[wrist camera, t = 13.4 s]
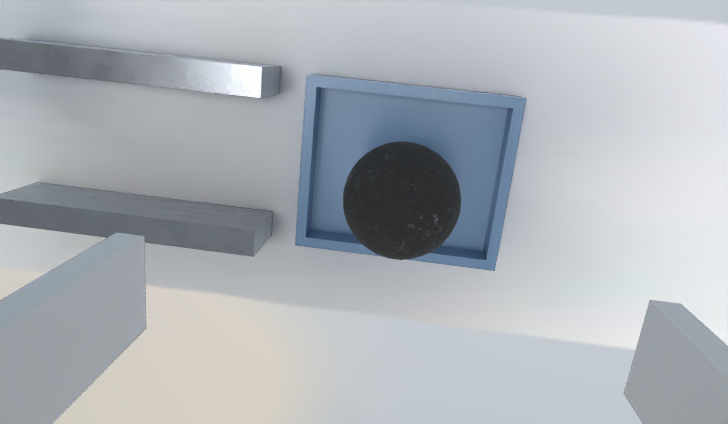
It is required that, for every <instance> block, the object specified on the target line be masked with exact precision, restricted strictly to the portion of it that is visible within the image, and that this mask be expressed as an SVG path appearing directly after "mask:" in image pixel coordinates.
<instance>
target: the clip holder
mask: <svg viewBox="0 0 728 424" xmlns="http://www.w3.org/2000/svg"><path fill="white" fill-rule="evenodd" d="M0 69H4V70H13V71H22V72H31V73H40V74H49V75H58V76H67V77H76V78H85V79H94V80H103V81H112V82H121V83H130V84H139V85H148V86H157V87H166V88H175V89H184V90H193V91H202V92H211V93H220V94H229V95H238V96H247V97H256V98H263V97H267V96H271V95H276V94H279V88H280V69H281V66H272V65H263V64H253V63H244V62H235V61H225V60H216V59H207V58H197V57H188V56H179V55H169V54H160V53H150V52H141V51H132V50H122V49H113V48H104V47H94V46H85V45H76V44H66V43H57V42H48V41H38V40H29V39H14V38H0ZM272 220H273V212H272V211H264V210H256V209H248V208H240V207H232V206H224V205H216V204H208V203H200V202H192V201H184V200H176V199H168V198H160V197H152V196H144V195H136V194H128V193H120V192H111V191H103V190H95V189H87V188H79V187H71V186H63V185H55V184H47V183H39V182H37V183H34V184H31V185H28V186H24V187H21V188H18V189H15V190H12V191H9V192H6V193H2V194H0V224H7V225H15V226H23V227H30V228H38V229H46V230H53V231H61V232H69V233H77V234H84V235H92V236H100V237H107V238H108V237H110V236H111V235H113V234H115V233H124V234H132V235H140V236H144V242H146V243H153V244H161V245H169V246H176V247H184V248H192V249H200V250H207V251H215V252H223V253H230V254H238V255H246V256H253V257H254V256H255V254H256V253H257V252H258V251H259V250H260V248H261V247H262V246H263V245H264V244H265V242H266V241H267V240H268V239H269V238H270V236H271V235H272Z"/></svg>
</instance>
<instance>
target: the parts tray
mask: <svg viewBox="0 0 728 424" xmlns="http://www.w3.org/2000/svg"><path fill="white" fill-rule="evenodd" d="M525 104H526V98H523V97H520V96H512V95H503V94H494V93H484V92H475V91H466V90H457V89H447V88H438V87H429V86H419V85H410V84H401V83H391V82H382V81H373V80H363V79H354V78H345V77H336V76H326V75H317V74H310V75H307V77H306V92H305V107H304V122H303V137H302V152H301V167H300V182H299V197H298V212H297V227H296V242H295V245H297V246H305V247H313V248H321V249H329V250H336V251H344V252H352V253H360V254H368V255H376V256H381V255H378V254H375V253H374V252H372V251H371V250H369V249H368V248H366V247H365V246H364V245H362V244H361V243H360V242H359V240H358V239H357V238H356V237H355V236H354V235H353V233H352V231H351V230H350V228H349V226H348V224H347V221H346V218H345V214H344V210H343V191H344V187H345V184H346V181H347V178H348V175H349V174H350V172H351V170H352V168H353V166H354V165H355V164H356V163H357V162H358V160H359V159H360V158H362V157H363V156H364V155H365V154H366V153H368V152H369V151H371V150H373V149H374V148H376V147H379V146H381V145H384V144H387V143H392V142H412V143H417V144H420V145H424V146H426V147H428V148H429V149H431V150H433V151H435V152H436V153H438V154H439V155H440V156H441V157H442V158H443V159H444V160H446V162H447V163H448V164H449V165H450V167H451V168H452V170H453V172H454V173H455V175H456V177H457V180H458V183H459V186H460V194H461V208H460V214H459V217H458V221H457V223H456V225H455V228H454V229H453V231H452V232H451V234H450V236H449V237H448V238H447V239H446V240H445V241H444V243H443V244H442V245H441V246H439V247H438V248H436V249H435V250H433V251H432V252H430V253H428V254H425V255H423V256H421V257H417V258H413V259H407V260H415V261H422V262H430V263H438V264H446V265H454V266H461V267H469V268H477V269H485V270H493V271H495V266H496V260H497V255H498V250H499V244H500V239H501V233H502V228H503V223H504V217H505V212H506V206H507V201H508V196H509V190H510V185H511V179H512V174H513V168H514V163H515V158H516V152H517V147H518V141H519V136H520V131H521V125H522V120H523V114H524V109H525ZM383 257H384V256H383Z"/></svg>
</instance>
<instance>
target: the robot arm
mask: <svg viewBox="0 0 728 424" xmlns="http://www.w3.org/2000/svg"><path fill="white" fill-rule="evenodd" d="M145 329H146V292H145V244H144V236H140V235H132V234H124V233H115V234H113V235H111V236H110V237H108V238H106V239H104V240H103V241H101V242H99V243H98V244H96V245H94V246H92V247H91V248H89V249H87V250H86V251H84V252H82V253H80V254H79V255H77V256H75V257H74V258H72V259H70V260H68V261H67V262H65V263H63V264H62V265H60V266H58V267H56V268H55V269H53V270H51V271H50V272H48V273H46V274H44V275H43V276H41V277H39V278H38V279H36V280H34V281H33V282H31V283H29V284H27V285H26V286H24V287H22V288H20V289H19V290H17V291H15V292H14V293H12V294H10V295H8V296H7V297H5V298H3V299H2V300H0V424H53V423H54V421H55V420H56V419H57V418H58V417H59V416H60V415H61V414H62V413H63V412H64V411H65V410H66V409H67V408H68V407H69V406H70V405H71V404H72V403H73V402H74V401H75V400H76V399H77V398H78V397H79V396H80V395H81V394H82V393H83V392H84V391H85V390H86V389H87V388H88V387H89V386H90V385H91V384H92V383H93V382H94V381H95V380H96V379H97V378H98V377H99V376H100V375H101V374H102V373H103V372H104V371H105V370H106V369H107V368H108V367H109V366H110V365H111V364H112V363H113V362H114V361H115V360H116V359H117V358H118V357H119V356H120V355H121V354H122V353H123V352H124V350H126V349H127V348H128V347H129V346H130V345H131V343H133V341H135V340H136V338H138V336H139V335H140V334H141V333H142V332H143V331H144V330H145ZM624 395H625V396H626V398H627V400H628V401H629V403H630V405H631V406H632V408H633V409H634V411H635V412H636V414H637V416H638V417H639V419H640V420H641V421H642V423H643V424H728V346H727V345H726V344H725V343H724V342H723V341H722V340H721V339H720V338H718V337H717V336H716V335H715V334H714V333H713V332H712V331H711V330H710V329H708V328H707V327H706V326H705V325H704V324H703V323H702V322H701V321H700V320H698V319H697V318H696V317H695V316H694V315H693V314H692V313H691V312H690V311H688V310H687V309H686V308H685V307H684V306H683V305H682V304H678V303H670V302H662V301H654V300H650V301H649V305H648V309H647V312H646V316H645V319H644V323H643V326H642V330H641V333H640V337H639V340H638V344H637V348H636V351H635V355H634V358H633V362H632V365H631V369H630V373H629V376H628V380H627V383H626V387H625V390H624Z"/></svg>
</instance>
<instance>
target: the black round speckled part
mask: <svg viewBox="0 0 728 424" xmlns="http://www.w3.org/2000/svg"><path fill="white" fill-rule="evenodd" d="M460 208H461V194H460V186H459V183H458V180H457V177H456V175H455V173H454V172H453V170H452V168H451V167H450V165H449V164H448V163H447V162H446V160H444V159H443V158H442V157H441V156H440V155H439V154H438V153H436V152H435V151H433V150H431V149H429V148H428V147H426V146H424V145H420V144H417V143H412V142H392V143H387V144H384V145H381V146H379V147H376V148H374V149H373V150H371V151H369V152H368V153H366V154H365V155H364V156H363V157H362V158H360V159H359V160H358V162H357V163H356V164H355V165H354V166H353V168H352V170H351V172H350V174H349V175H348V178H347V181H346V184H345V187H344V191H343V210H344V214H345V218H346V221H347V224H348V226H349V228H350V230H351V231H352V233H353V235H354V236H355V237H356V238H357V239H358V240H359V242H360V243H361V244H362V245H364V246H365V247H366V248H368V249H369V250H371V251H372V252H374V253H375V254H378V255H381V256H384V257H387V258H391V259H399V260H404V259H413V258H417V257H421V256H423V255H425V254H428V253H430V252H432V251H433V250H435V249H436V248H438V247H439V246H441V245H442V244H443V243H444V241H445V240H446V239H447V238H448V237H449V236H450V234H451V232H452V231H453V229H454V228H455V225H456V223H457V221H458V217H459V214H460Z"/></svg>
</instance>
